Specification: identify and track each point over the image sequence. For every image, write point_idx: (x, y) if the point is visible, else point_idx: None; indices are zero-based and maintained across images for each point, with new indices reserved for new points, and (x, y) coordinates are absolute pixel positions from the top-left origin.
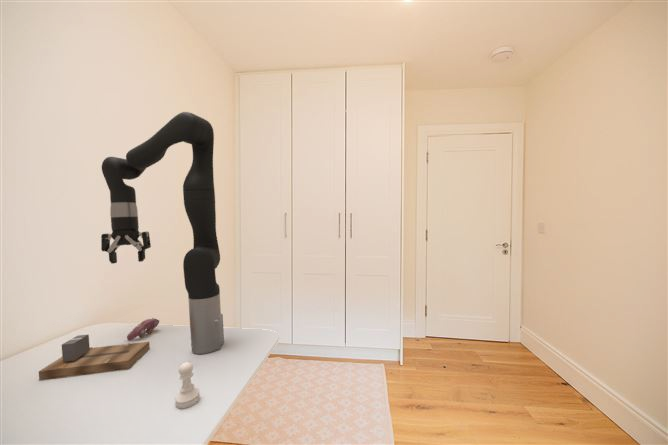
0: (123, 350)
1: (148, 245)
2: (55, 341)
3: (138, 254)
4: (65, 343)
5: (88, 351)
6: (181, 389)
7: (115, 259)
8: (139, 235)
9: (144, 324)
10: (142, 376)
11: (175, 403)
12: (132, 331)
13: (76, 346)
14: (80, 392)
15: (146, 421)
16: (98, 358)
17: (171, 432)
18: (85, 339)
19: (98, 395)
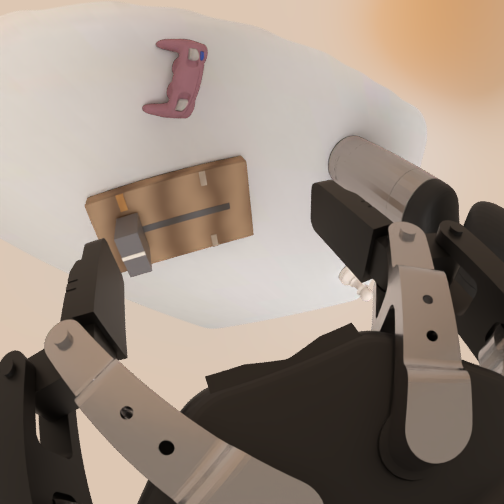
0: (213, 201)
1: (458, 264)
2: None
3: (347, 261)
4: (132, 272)
5: (131, 209)
6: (352, 286)
7: (109, 272)
8: (492, 381)
9: (194, 100)
10: (282, 241)
11: (341, 281)
12: (165, 115)
13: (149, 258)
14: (218, 277)
15: (321, 295)
16: (185, 232)
17: (342, 299)
18: (140, 237)
19: (249, 278)
